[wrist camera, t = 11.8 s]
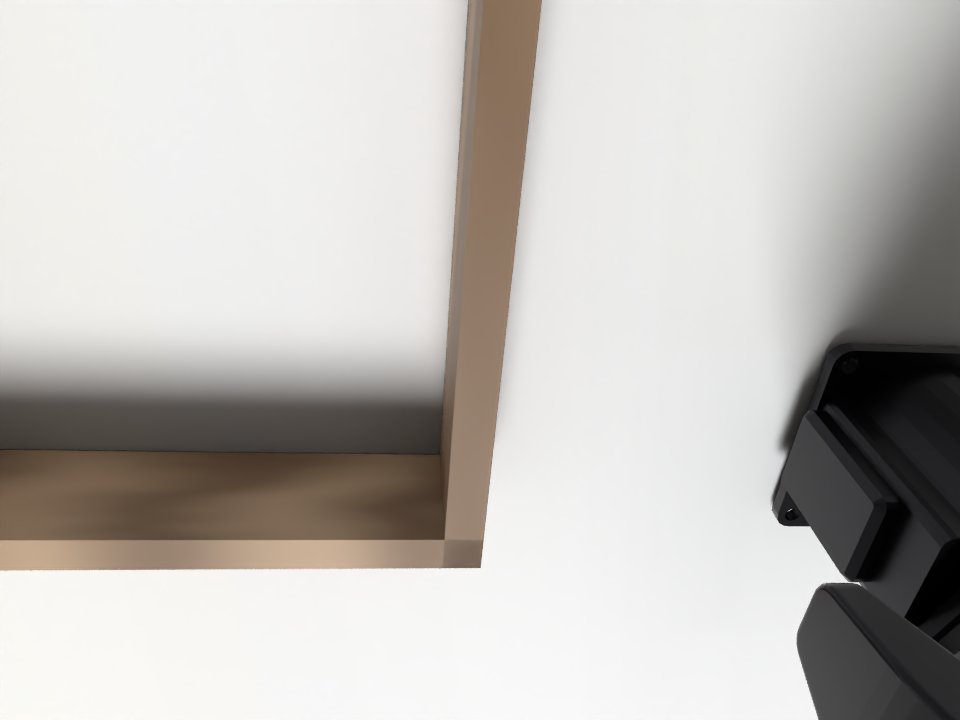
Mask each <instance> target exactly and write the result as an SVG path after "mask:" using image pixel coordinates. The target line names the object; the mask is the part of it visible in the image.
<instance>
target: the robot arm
mask: <svg viewBox="0 0 960 720" xmlns="http://www.w3.org/2000/svg"><path fill="white" fill-rule="evenodd" d="M847 359H851V360H850V362H849V363H848V364H846V365H845V366H841V365H842V364H843V362H844V361H846V360H847ZM790 509H792V510H790ZM789 510H790V511H789ZM772 511H773V513H774V515H775V517H776V518H777V520H778V522H779V523H780V524H782V525H784V526H810V527H811V528H812V530H813V531H814V533H815V535H816V536H817V538H818V539H819V541H820V542H821V544H822V545H823V547H824V548H825V550H826V551H827V553H828V554H829V556H830V558H831V559H832V561H833V562H834V564H835V565H836V567H837V568H838V570H839V571H840V573H841V574H842V575H843V576H844V578H845V579H846V580H847V581H848V582H859V583H860V584H861V586H860V585H858V584H854V583H824V584H822V585H820V586H819V587H818V588H817V589H816V591H815V593H814V595H813V597H812V599H811V602H810V604H809V606H808V608H807V610H806V613H805V615H804V617H803V619H802V622H801V624H800V626H799V629H798V633H797V649H798V654H799V657H800V661H801V664H802V667H803V670H804V674H805V677H806V680H807V684H808V687H809V690H810V693H811V697H812V700H813V703H814V706H815V710H816V713H817V716H818V720H960V347H952V346H918V345H884V344H850V343H848V344H842V345H839V346H837V347H835V348H834V349H833V350H832V351H831V352H830V353H829V354H828V356H827V358H826V360H825V363H824V366H823V368H822V371H821V374H820V377H819V379H818V382H817V385H816V388H815V390H814V393H813V396H812V399H811V401H810V404H809V407H808V410H807V412H806V414H805V415H804V417H803V418H802V421H801V424H800V427H799V430H798V432H797V435H796V438H795V441H794V443H793V446H792V449H791V452H790V454H789V457H788V460H787V463H786V465H785V468H784V471H783V474H782V476H781V484H780V487H779V490H778V492H777V495H776V498H775V501H774V503H773V506H772ZM787 511H788V512H787Z"/></svg>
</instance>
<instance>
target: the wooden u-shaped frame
mask: <svg viewBox="0 0 960 720" xmlns="http://www.w3.org/2000/svg"><path fill="white" fill-rule="evenodd" d="M541 2H542V0H468V14H467V30H466V46H465V62H464V78H463V94H462V110H461V126H460V141H459V157H458V173H457V189H456V205H455V221H454V237H453V253H452V269H451V285H450V301H449V317H448V333H447V349H446V364H445V380H444V396H443V412H442V428H441V444H440V455H414V454H325V453H237V452H149V451H61V450H0V570H159V569H353V568H481V558H482V549H483V540H484V530H485V521H486V512H487V503H488V493H489V484H490V475H491V466H492V456H493V447H494V438H495V429H496V419H497V410H498V401H499V392H500V382H501V373H502V364H503V354H504V345H505V336H506V327H507V317H508V308H509V299H510V290H511V280H512V271H513V262H514V253H515V243H516V234H517V225H518V216H519V206H520V197H521V188H522V178H523V169H524V160H525V151H526V141H527V132H528V123H529V114H530V104H531V95H532V86H533V77H534V67H535V58H536V49H537V40H538V30H539V21H540V12H541Z"/></svg>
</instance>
